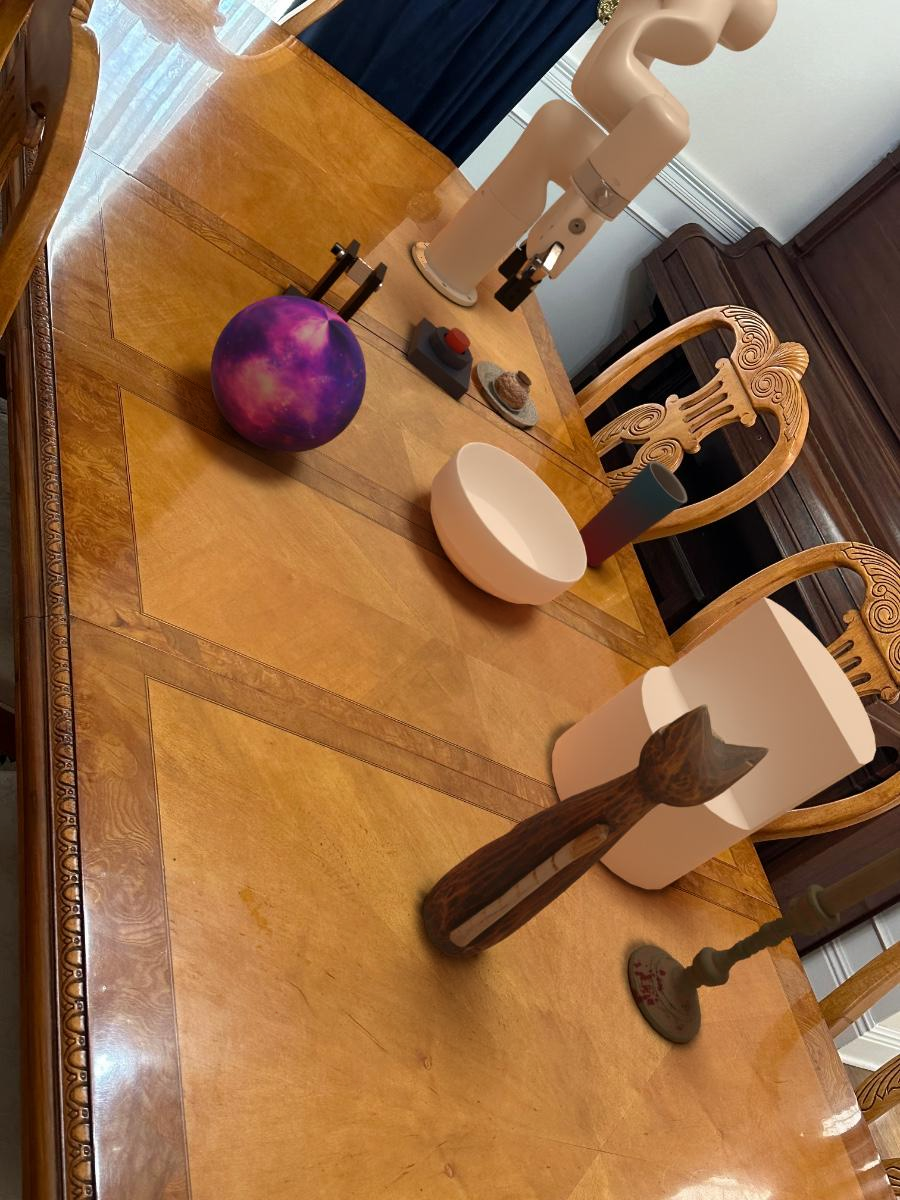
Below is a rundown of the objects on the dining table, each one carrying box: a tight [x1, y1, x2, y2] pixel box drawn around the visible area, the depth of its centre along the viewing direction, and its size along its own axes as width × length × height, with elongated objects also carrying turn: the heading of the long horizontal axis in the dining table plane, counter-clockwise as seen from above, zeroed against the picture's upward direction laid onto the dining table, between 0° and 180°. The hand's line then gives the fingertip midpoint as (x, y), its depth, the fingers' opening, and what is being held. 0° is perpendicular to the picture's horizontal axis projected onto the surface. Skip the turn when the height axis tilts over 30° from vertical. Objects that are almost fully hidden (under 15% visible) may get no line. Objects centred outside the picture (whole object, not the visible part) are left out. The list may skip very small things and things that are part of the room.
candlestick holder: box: [628, 846, 900, 1044], centre depth 100 cm, size 9×9×30 cm
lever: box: [329, 241, 374, 287], centre depth 138 cm, size 12×6×2 cm, turn 174°
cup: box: [578, 460, 688, 568], centre depth 151 cm, size 7×7×15 cm
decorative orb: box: [210, 295, 367, 454], centre depth 114 cm, size 15×15×15 cm
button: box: [444, 327, 471, 354], centre depth 156 cm, size 3×3×2 cm
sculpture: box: [423, 705, 769, 958], centre depth 86 cm, size 7×9×30 cm
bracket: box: [282, 238, 389, 324], centre depth 136 cm, size 10×9×12 cm
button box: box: [406, 316, 474, 401], centre depth 158 cm, size 10×9×4 cm
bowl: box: [430, 441, 588, 606], centre depth 131 cm, size 20×20×8 cm
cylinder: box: [551, 596, 877, 890], centre depth 115 cm, size 19×19×25 cm
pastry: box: [476, 360, 540, 428], centre depth 166 cm, size 12×12×5 cm
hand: (504, 290), depth 151 cm, fingers open, 8 cm apart
